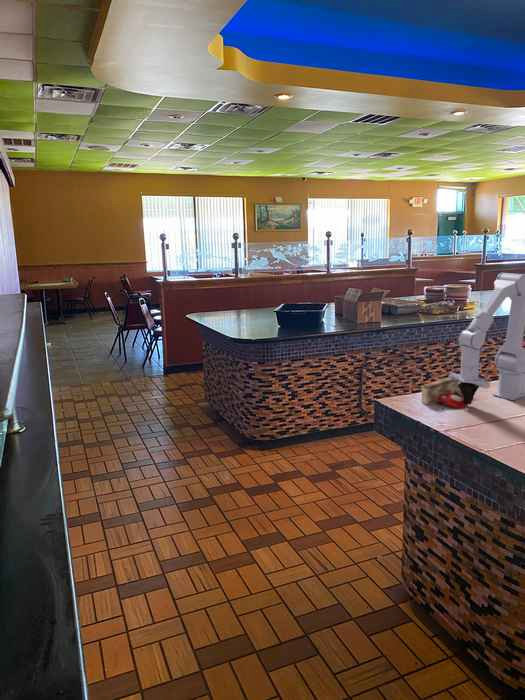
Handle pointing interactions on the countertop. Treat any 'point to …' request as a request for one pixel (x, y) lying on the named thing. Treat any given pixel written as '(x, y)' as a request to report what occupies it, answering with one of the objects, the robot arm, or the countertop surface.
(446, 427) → the countertop surface
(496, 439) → the countertop surface
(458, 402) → the tracker holder
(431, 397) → the wall board
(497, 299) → the robot arm
